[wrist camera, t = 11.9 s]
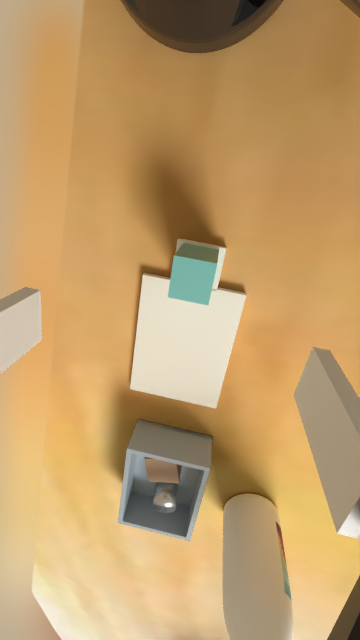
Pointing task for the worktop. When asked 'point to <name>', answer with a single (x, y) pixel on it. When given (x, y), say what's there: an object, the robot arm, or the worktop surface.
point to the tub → (140, 492)
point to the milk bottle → (255, 571)
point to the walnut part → (162, 471)
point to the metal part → (165, 497)
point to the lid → (186, 327)
